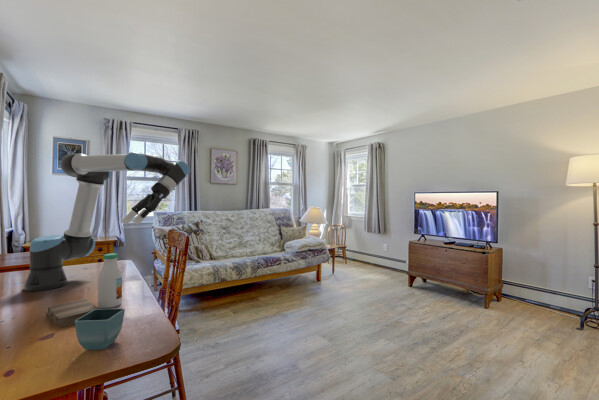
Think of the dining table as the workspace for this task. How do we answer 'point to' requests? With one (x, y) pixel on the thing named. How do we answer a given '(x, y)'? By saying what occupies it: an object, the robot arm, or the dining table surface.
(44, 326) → the dining table surface
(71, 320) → the brown flat block
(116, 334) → the flower pot
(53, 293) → the dining table surface
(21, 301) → the dining table surface
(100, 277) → the milk bottle
